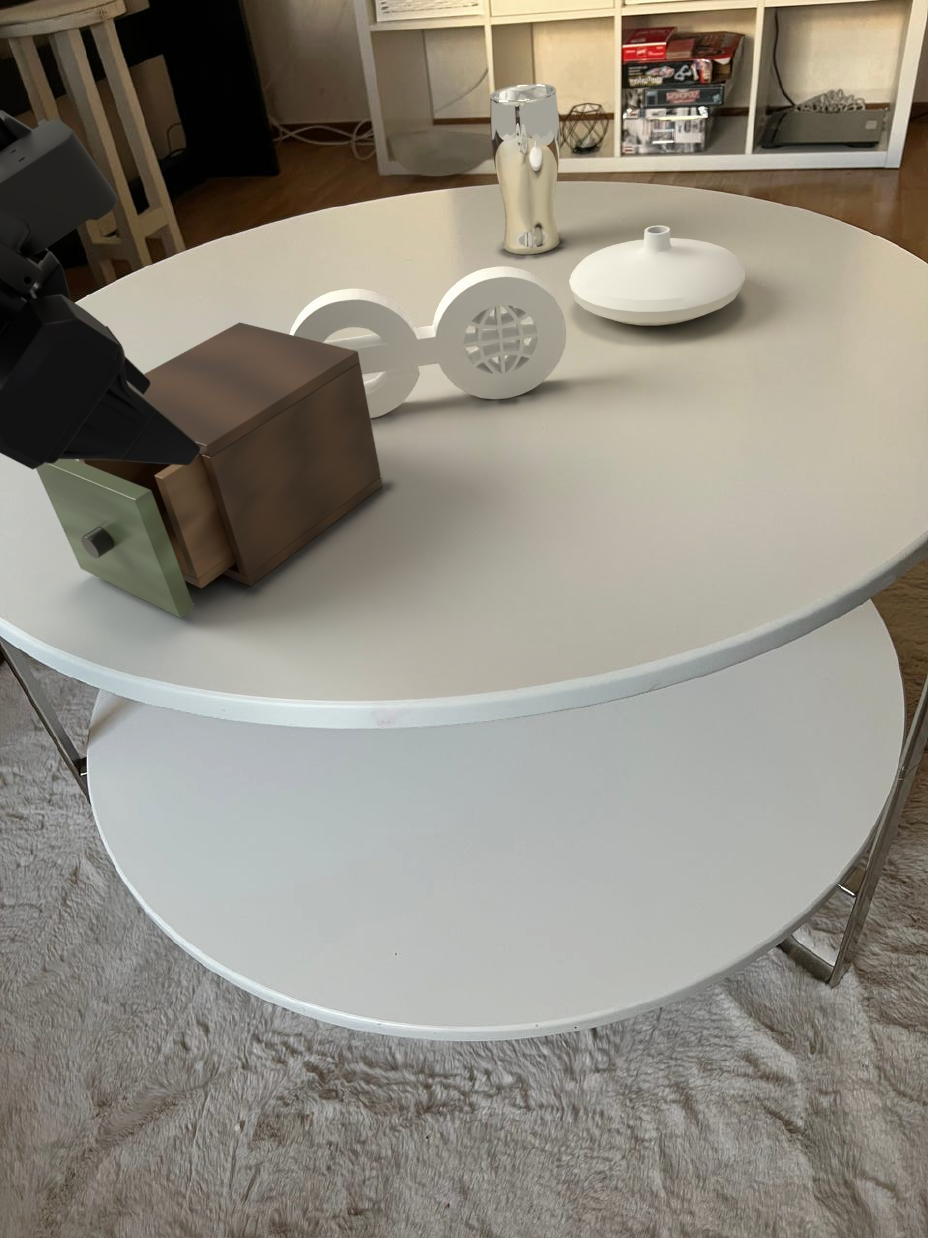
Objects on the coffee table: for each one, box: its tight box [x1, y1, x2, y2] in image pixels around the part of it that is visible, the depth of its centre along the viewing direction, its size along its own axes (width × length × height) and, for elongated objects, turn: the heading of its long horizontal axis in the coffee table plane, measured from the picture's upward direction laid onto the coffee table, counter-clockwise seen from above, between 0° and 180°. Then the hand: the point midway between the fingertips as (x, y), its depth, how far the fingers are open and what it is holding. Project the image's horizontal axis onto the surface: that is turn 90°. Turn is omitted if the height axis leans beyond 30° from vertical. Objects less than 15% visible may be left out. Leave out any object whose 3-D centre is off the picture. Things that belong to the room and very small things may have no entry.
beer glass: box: [489, 83, 561, 256], centre depth 101 cm, size 7×7×15 cm
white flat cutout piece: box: [289, 265, 567, 419], centre depth 78 cm, size 22×2×10 cm, turn 97°
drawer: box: [35, 453, 236, 618], centre depth 64 cm, size 14×10×9 cm
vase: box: [568, 225, 746, 326], centre depth 88 cm, size 16×16×7 cm
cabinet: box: [143, 322, 383, 587], centre depth 68 cm, size 14×12×11 cm
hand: (168, 420), depth 50 cm, fingers open, 9 cm apart
